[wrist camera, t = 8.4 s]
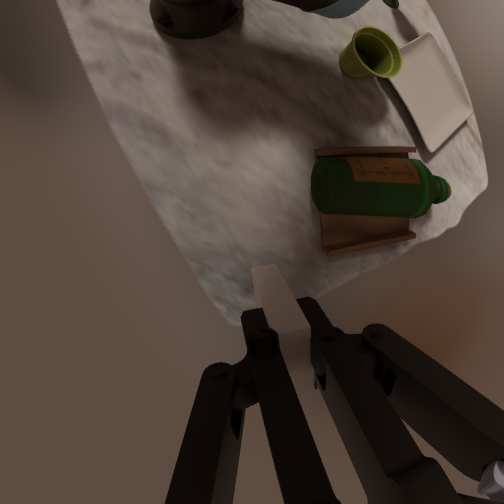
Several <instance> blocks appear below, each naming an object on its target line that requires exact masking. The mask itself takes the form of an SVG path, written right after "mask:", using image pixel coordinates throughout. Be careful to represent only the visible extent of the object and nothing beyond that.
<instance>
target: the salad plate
mask: <svg viewBox="0 0 504 504" xmlns="http://www.w3.org/2000/svg"><path fill="white" fill-rule="evenodd" d="M399 50H400V53H401V56H402V67H401V70H400V72H399V73H398V74H397V75H396V76H394V77H391V78H387V79H388V80H389V81H390V83H391V84H392V86H393V87H394V89H395V90H396V92H397V93H398V95H399V96H400V98H401V100H402V101H403V103H404V105H405V106H406V108H407V110H408V111H409V113H410V115H411V117H412V119H413V121H414V123H415V125H416V127H417V129H418V131H419V133H420V136H421V138H422V140H423V142H424V144H425V146H426V148H427V149H428V151H429V152H431V153H433V152H434V151H435V150H436V149H438V148H439V147H440V146H441V145H442V144H443V142H444V141H445V140H446V139H447V138H448V137H449V136H450V135H451V134H452V133H453V132H454V131H455V130H456V129H457V128H458V127H459V126H460V125H461V124H462V123H463V122H464V121H465V120H466V119H467V118H468V117H469V116H470V115H471V114H472V113H473V109H472V107H471V104H470V102H469V100H468V98H467V95H466V93H465V91H464V89H463V87H462V85H461V83H460V81H459V79H458V77H457V75H456V74H455V72H454V70H453V68H452V66H451V64H450V63H449V61H448V59H447V58H446V56H445V54H444V52H443V51H442V49H441V47H440V46H439V44H438V43H437V41H436V40H435V38H434V37H433V35H432V34H431V33H429V32H427V33H425V34H423V35H421V36H419V37H418V38H416V39H414V40H413V41H411V42H409V43H407V44H406V45H404V46H402V47H400V48H399Z"/></svg>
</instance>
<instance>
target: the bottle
mask: <svg viewBox="0 0 504 504" xmlns="http://www.w3.org/2000/svg"><path fill="white" fill-rule="evenodd" d="M311 191H312V197H313V200H314V203H315V205H316V207H317V209H318V211H319V212H321V213H323V214H333V215H363V216H385V217H403V218H418V217H420V216H422V215H424V214H426V212H427V211H428V210H429V209H430V207H431V205H432V203H433V204H438V203H442V202H444V201H446V200H447V198H449V197H450V195H451V187H450V185H449V184H448V183H447V182H446V180H445V179H443V178H441V177H439V176H435V175H432V173H431V172H430V170H429V169H428V168H427V167H426V166H425V165H424V164H423V163H422V162H421V160H416V159H405V158H382V157H319V159H318V160H317V162H316V163H315V165H314V167H313V170H312V175H311Z"/></svg>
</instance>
